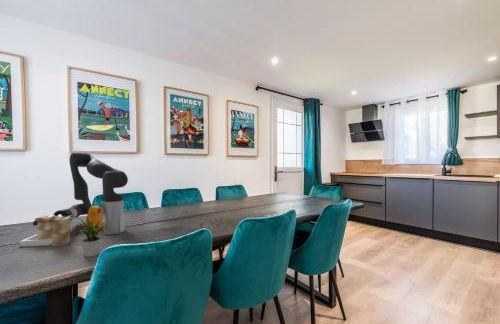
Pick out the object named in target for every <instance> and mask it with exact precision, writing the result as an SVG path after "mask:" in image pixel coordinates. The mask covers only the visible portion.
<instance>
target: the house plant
mask: <svg viewBox="0 0 500 324" xmlns="http://www.w3.org/2000/svg"><path fill="white" fill-rule="evenodd" d="M94 217H95V216H94ZM86 218H87V216H86ZM86 218H85V219H86ZM76 219H77V220H79V221H80V222H81V223H79V222H75V221H74V223H75V224H72V226H73V225H74V226H75V225H76V226H78V227H80V225H81V227H82V229H80V230H79V232H81V233H77V232H76V235H75V239H76V238H77V237H79V236H81V237H83V239H82V240H81V246H82V250H83V251H82V252H83V256H84V257H86V258H87V257H89V258H90V257H95V256H97V255H99V254H100V250H101V245H102V239H103V238H102V237H103V236H100V235H101V234H102V233H103V232H104V231H103V229H107V228H104V227H102V228H100V226H101V225H102V224H103V223H104V222H105V221H106V220H107V219H106V220H105V221H104V222H103V223H102V224H101V225H100V226H99V224H100V221H101V219H100V221H99V223H97V224H96V225H95V227H94V228H93V220H94V219H95V218H93V220H92V222H91V221H90V220H89V219H88V218H87V224H88V225H87V224H85V221H83V220H82V219H81V218H79V217H77V218H76ZM108 219H109V218H108ZM71 223H73V221H70V224H71ZM76 223H77V224H76ZM78 224H79V225H78ZM84 226H85V227H84ZM98 227H99V228H98ZM83 228H84V229H83ZM105 231H106V230H105ZM82 235H85V236H86V237H84V236H82Z"/></svg>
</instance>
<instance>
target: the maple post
mask: <svg viewBox="0 0 500 324" xmlns="http://www.w3.org/2000/svg"><path fill="white" fill-rule="evenodd" d="M37 218H38V225H37V234H38V240H42V239H53V220H54V219H55V215H53V214H50V215H43V216H38V217H37Z"/></svg>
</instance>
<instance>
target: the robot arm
mask: <svg viewBox="0 0 500 324" xmlns="http://www.w3.org/2000/svg"><path fill="white" fill-rule="evenodd" d="M68 162H69V167H70V172H71V178H72V181H73V196H74V197H73V198H74V199H75V201H81V202H82V203H78V204H73V205H71V206H69V207H65V208H62V209H59V210H56V211H54V213H53V214H52V215H55V219H57V218H59V217H70V222H73V220H74V219H77V218H79V217H80V216H87V214H88V211H89V208H90V207H91V206H93V205H92V202H91V201H90V196H89V186H88V183H87V182H86V180H85V178H84V177H83V176H82V174H81V173H80V171H79V168H86V171H87V173H89V174H90V175H91V176H92V177H94V178H97V179H101V182H102V196H103V220H104V221H105V220H106V219H107V220H106V221H105V222H104V227H103V228H107V229H103V228H102V229H103V230H102V233H103V235H106V236H107V235H109V236H111V235H118V234H122V233H123V232H125V227H126V226H125V223H126V222H125V218H126V217H125V215H126V214H125V213H124V195H123V194H121V193H117V192H115V190H114V189H119V188H123V187H125V186H126V185H127V184H128V182H129V178H128V175H127V173H126V172H124V171H122V170H119V169H116V168H114V167H112V166H110V165H108V164H107V163H105V162H103V161H101V160H99V159H98V158H96V157H94V156H93V155H91V154H90V153H88V152H76V151H74V152H72V153H70V155H69V160H68ZM38 218H39V217H36V218H35V219H34V221H32V225H33V226H38ZM108 218H109V219H108ZM105 230H106V231H105ZM103 231H104V232H103Z"/></svg>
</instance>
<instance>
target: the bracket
mask: <svg viewBox="0 0 500 324" xmlns="http://www.w3.org/2000/svg"><path fill="white" fill-rule="evenodd" d="M103 213H104V207H102V206H99V205H92V206H91V207H90V208H89V211H88V214H86V217H87V218H88V219H89V220H90V221H91V222H92V220H93V218H95V219H94V220H93V229H94V227H95V225H96V224H97V223H99V221H100V219H101V221H100V224H99V226H100V225H101V224H102V223H103V222H104V219H103V217H102V214H103ZM94 216H95V217H94ZM87 218H85V221H84V223H85V224H87ZM87 225H88V224H87ZM83 226H84V225H83ZM84 227H85V226H84ZM84 227H83V228H84ZM98 228H99V227H98ZM98 228H97V229H98ZM102 228H104V223H103V224H102V225H101V226H100V228H99V229H102Z"/></svg>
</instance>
